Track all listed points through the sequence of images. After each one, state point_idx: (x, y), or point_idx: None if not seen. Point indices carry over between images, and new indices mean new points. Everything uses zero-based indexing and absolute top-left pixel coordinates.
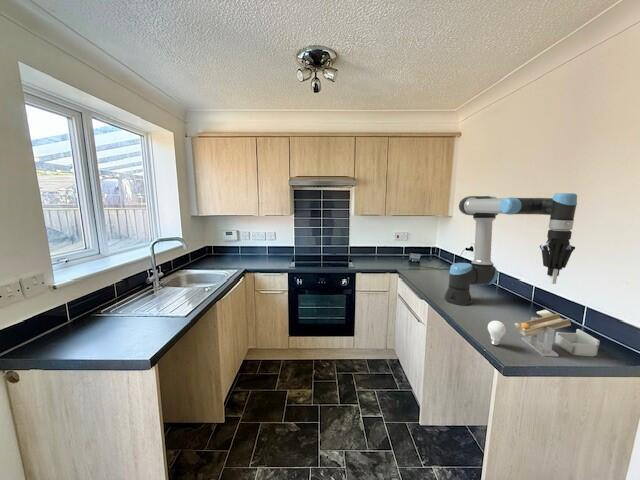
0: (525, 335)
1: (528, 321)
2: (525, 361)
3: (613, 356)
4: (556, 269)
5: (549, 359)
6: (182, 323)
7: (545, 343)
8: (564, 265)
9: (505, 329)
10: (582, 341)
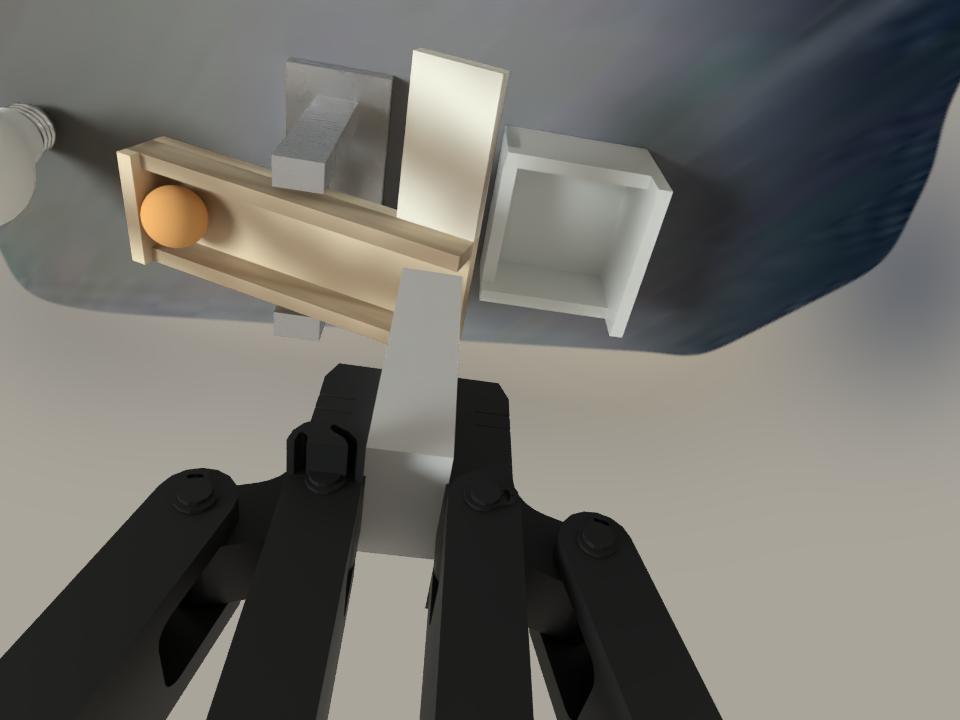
0: None
1: (221, 187)
2: (154, 292)
3: (707, 286)
4: (400, 552)
5: None
6: None
7: None
8: (568, 653)
9: (4, 221)
10: (627, 219)
